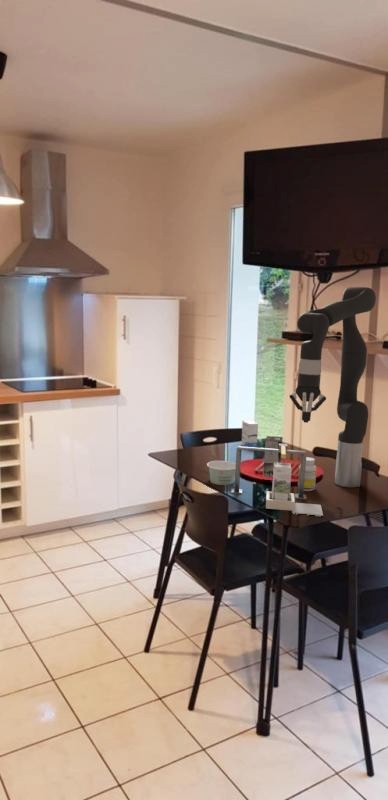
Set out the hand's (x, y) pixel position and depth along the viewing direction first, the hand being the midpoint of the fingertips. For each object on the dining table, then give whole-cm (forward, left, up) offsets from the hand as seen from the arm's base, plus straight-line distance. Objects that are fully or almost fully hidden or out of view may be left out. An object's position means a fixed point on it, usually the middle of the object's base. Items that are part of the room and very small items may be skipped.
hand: (305, 422), depth 211 cm
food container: (+29, -16, -29) cm, 44 cm away
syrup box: (+7, +6, -29) cm, 30 cm away
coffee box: (+10, -25, -29) cm, 39 cm away
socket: (+7, +6, -28) cm, 30 cm away
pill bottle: (-3, -15, -29) cm, 33 cm away
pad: (-2, +9, -28) cm, 30 cm away
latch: (+7, +2, -11) cm, 13 cm away
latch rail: (+11, -4, -28) cm, 31 cm away
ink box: (+21, -75, -29) cm, 83 cm away
